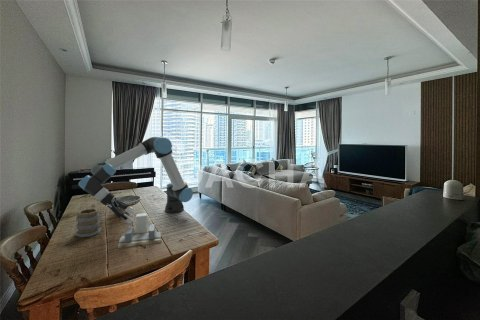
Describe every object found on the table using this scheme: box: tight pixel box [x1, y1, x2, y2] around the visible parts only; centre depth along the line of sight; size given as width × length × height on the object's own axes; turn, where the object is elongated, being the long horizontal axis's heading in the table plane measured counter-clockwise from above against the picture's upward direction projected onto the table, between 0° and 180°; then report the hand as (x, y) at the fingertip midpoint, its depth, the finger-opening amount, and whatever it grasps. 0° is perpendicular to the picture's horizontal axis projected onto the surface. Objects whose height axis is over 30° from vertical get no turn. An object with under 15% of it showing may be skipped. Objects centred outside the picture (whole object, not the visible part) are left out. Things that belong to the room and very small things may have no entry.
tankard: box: [75, 203, 103, 238], centre depth 141 cm, size 20×13×15 cm, turn 17°
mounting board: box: [117, 231, 162, 249], centre depth 129 cm, size 22×12×2 cm, turn 109°
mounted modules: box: [124, 223, 156, 243], centre depth 129 cm, size 15×10×5 cm, turn 109°
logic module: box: [135, 212, 148, 234], centre depth 141 cm, size 6×5×11 cm
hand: (133, 218), depth 139 cm, fingers open, 13 cm apart
